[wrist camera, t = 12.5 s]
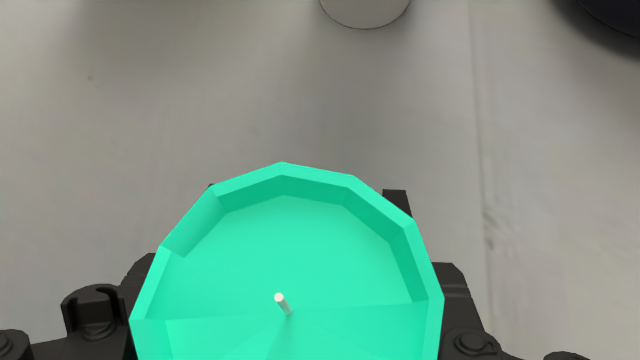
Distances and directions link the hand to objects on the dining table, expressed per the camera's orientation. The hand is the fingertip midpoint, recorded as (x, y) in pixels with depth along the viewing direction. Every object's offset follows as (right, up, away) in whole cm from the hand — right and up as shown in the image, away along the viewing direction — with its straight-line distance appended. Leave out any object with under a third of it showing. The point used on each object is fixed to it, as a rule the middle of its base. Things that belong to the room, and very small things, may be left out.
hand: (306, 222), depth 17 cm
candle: (0, -5, +2) cm, 5 cm away
